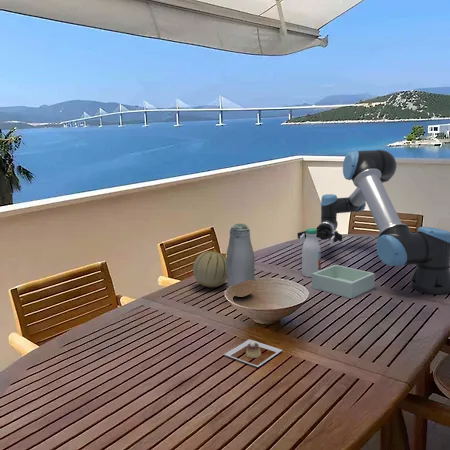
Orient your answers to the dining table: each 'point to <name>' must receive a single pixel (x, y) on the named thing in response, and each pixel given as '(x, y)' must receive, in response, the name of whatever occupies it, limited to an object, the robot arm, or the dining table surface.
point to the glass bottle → (239, 255)
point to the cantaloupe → (210, 269)
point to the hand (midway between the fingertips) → (315, 241)
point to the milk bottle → (311, 253)
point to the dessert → (253, 350)
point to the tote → (343, 281)
